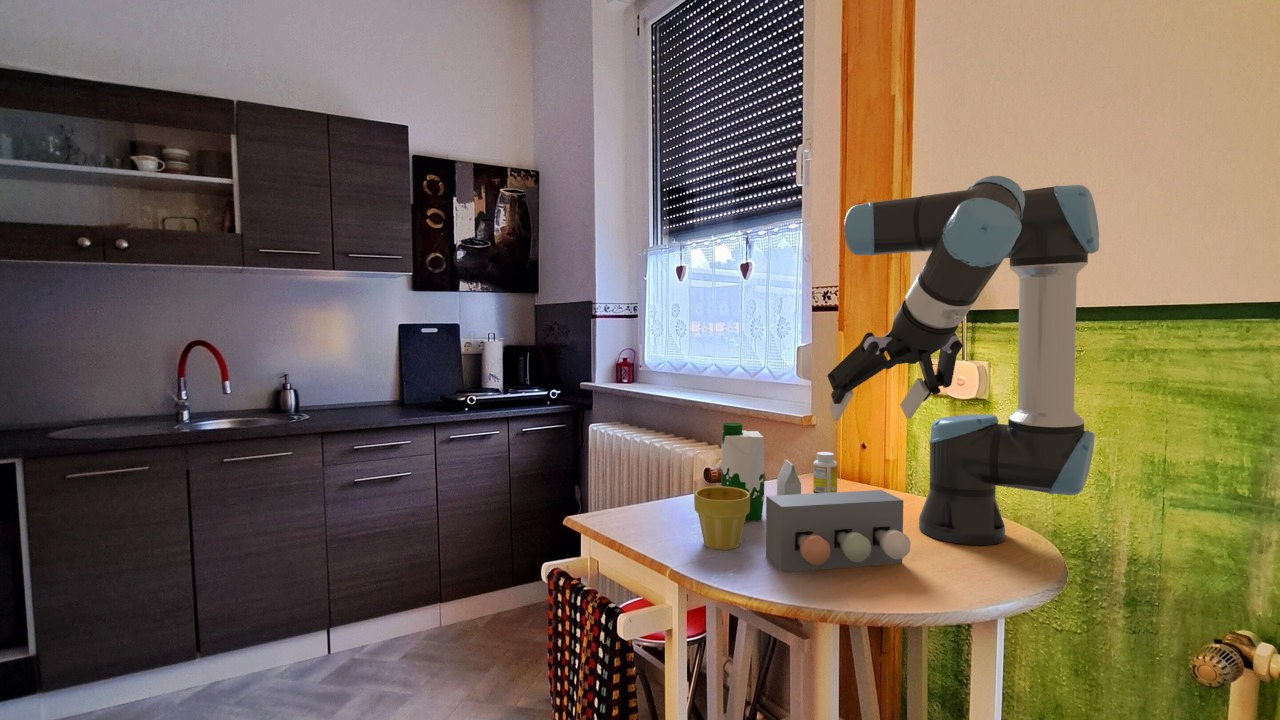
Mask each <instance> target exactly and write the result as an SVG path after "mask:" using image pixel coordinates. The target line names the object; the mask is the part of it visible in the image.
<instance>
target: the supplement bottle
mask: <svg viewBox="0 0 1280 720" xmlns="http://www.w3.org/2000/svg"><path fill="white" fill-rule="evenodd" d="M812 466H813V469H812V471H813V475H812V476H813V479H812V480H813V482H812V485H813V489H812V490H813V491H812V492H813V493H812V494H814V493H833V492H838V462H837V461H836V460H835V454H834V453H833V452H830V451H818V452H817V453H816V459H815V460H814V461H813V465H812Z"/></svg>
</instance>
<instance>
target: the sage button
mask: <svg viewBox="0 0 1280 720" xmlns="http://www.w3.org/2000/svg"><path fill="white" fill-rule="evenodd" d="M835 540H836V542H837V543H839V544H840V548H841V552H842V553H843V555H844V556H846V557H847V558H848V559H850V560H851V561H853V562H861V561H864V560H865V559H866V558H867V557H868V556H869V554H870V551H871V544H870V542H869V540H868V539H867V538H866V537H864V536H863V535H861V534H860V533H858V532H850V533H848V534H847V533H846V532H844V531H839V532H837V534H836V536H835Z"/></svg>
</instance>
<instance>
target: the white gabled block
mask: <svg viewBox="0 0 1280 720" xmlns="http://www.w3.org/2000/svg"><path fill="white" fill-rule="evenodd" d="M794 494H802V482H801V481H800V478H799V476H798V474H797V471H796V469H795V465H794V464H793V463H791V462H790V461H789V460H788V459H784V461H783V464H782V467H781V469H780V471H779V473H778V475H777V477H776V495H794Z"/></svg>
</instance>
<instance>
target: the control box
mask: <svg viewBox="0 0 1280 720" xmlns="http://www.w3.org/2000/svg"><path fill="white" fill-rule="evenodd" d="M765 499H766V501H765V502H766V503H765V508H766V509H765V558H766V559H767V560H768V561H769V562H770V563H771V564H772V565H773V566H774V567H775V568H776V569H777V570H778V571H779V572H780V573H786V572H790V573H791V572H799V571H814V570H828V569H842V568H857V567H858V568H859V567H868V566H869V567H870V566H882V565H883V566H884V565H886V566H887V565H896V564H903V558H902V559H893V558H891V557H889V556H888V555H886V554H885V553H884V552H883V551H882V550H881V548H880V543H879V542H878V541H876V540H875V539H874V537H873V533H874V531H875V530H876V529H879V528H880V529H883V530H885V531H888V530H891V529H895V530H898V531H900V532H902V533H903V534H904V531H903V530H904V499H902V498H900V497H897V496H895V495H893V494H891V493H890V492H889V493H888V492H887V491H885V490H882V489H878V490H877V489H875V490H857V491H856V490H855V491H837V492H833V493H801V494H794V495H777V494H776V495H775V494H774V495H766V497H765ZM839 531H844V532H846V533H847V534H848V533H850V532H858V533H860V534H861V535H863V536H864V537H866V538H867V539H868V540H869V542H870V544H871V551H870V554H869V556H868V557H867V558H866V559H865V560H864V561H861V562H853V561H851V560H850V559H848V558H847V557H846V556H844V555H843V553H842V552H841V548H840V544H839V543H837V542H836V540H835V536H836V534H837V532H839ZM801 533H804V534H806V535H812V534H815V535H819V536H820V537H822V538H823V539H825V540H826V541H827V542H828V543H829V545H830V556H829V558H828V559H827V561H826V562H824V563H823V564H820V565H813V564H811V563H809V562H808V561H807V560H806V559H804V558H803V557H802V555H801V553H800V546H799V545H798V544H797V542H796V538H797V536H798V535H799V534H801Z"/></svg>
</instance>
